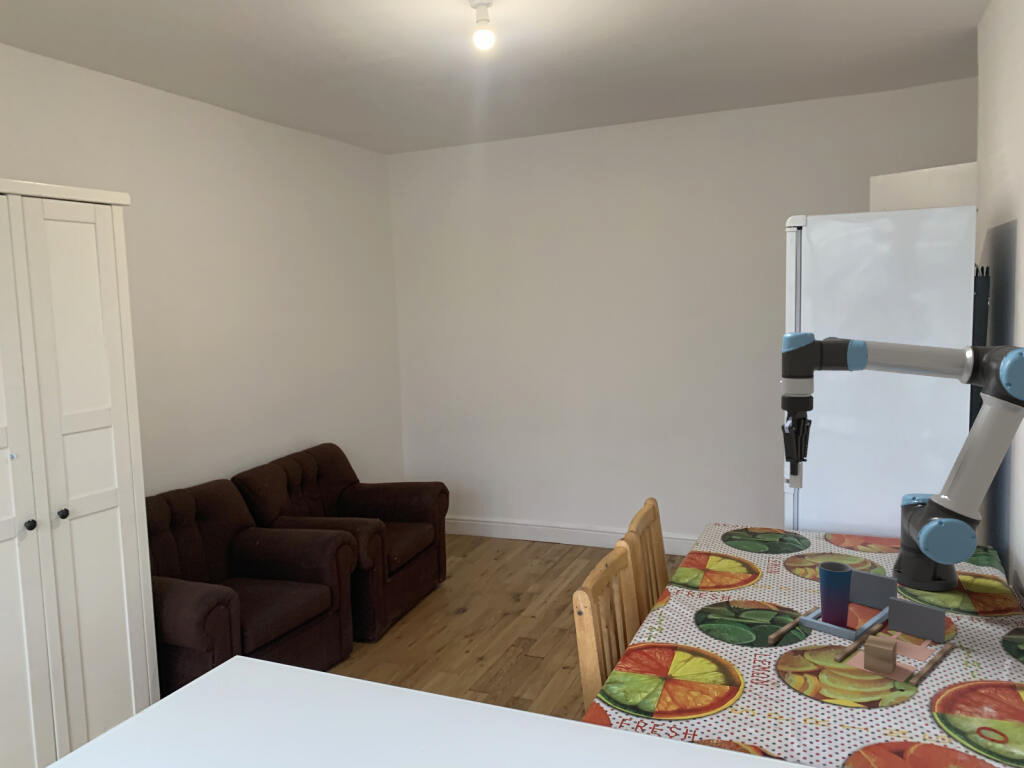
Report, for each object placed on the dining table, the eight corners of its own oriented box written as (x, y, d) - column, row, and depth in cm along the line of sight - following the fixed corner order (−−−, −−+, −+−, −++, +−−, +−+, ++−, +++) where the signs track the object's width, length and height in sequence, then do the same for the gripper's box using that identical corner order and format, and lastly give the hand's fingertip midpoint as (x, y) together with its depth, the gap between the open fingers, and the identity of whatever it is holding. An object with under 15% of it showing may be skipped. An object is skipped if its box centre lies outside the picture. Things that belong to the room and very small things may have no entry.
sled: (844, 597, 189) (844, 566, 188) (896, 611, 180) (897, 578, 180) (799, 628, 173) (799, 594, 172) (854, 644, 164) (855, 608, 163)
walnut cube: (869, 658, 156) (869, 635, 155) (896, 664, 153) (896, 640, 152) (863, 668, 152) (864, 644, 151) (891, 674, 149) (892, 650, 148)
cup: (854, 638, 167) (855, 572, 166) (821, 636, 168) (822, 571, 167) (846, 625, 174) (847, 561, 172) (815, 624, 175) (815, 560, 174)
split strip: (890, 631, 170) (891, 596, 170) (944, 645, 162) (945, 609, 162) (844, 668, 154) (845, 630, 153) (902, 687, 146) (903, 647, 145)
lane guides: (815, 612, 181) (815, 606, 181) (953, 650, 160) (953, 643, 160) (768, 643, 166) (768, 636, 166) (914, 690, 144) (914, 682, 144)
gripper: (793, 391, 197) (792, 480, 199) (771, 396, 188) (770, 490, 190) (822, 392, 192) (820, 484, 194) (801, 398, 182) (799, 494, 185)
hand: (795, 487), depth 192 cm, fingers closed
